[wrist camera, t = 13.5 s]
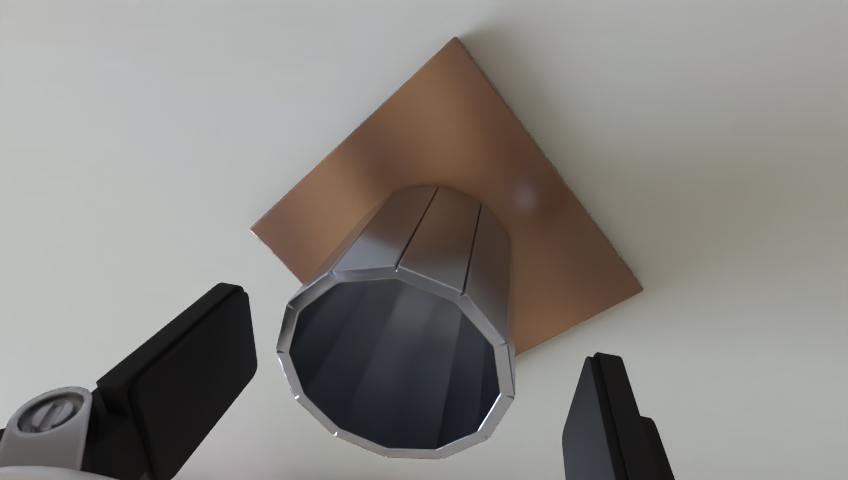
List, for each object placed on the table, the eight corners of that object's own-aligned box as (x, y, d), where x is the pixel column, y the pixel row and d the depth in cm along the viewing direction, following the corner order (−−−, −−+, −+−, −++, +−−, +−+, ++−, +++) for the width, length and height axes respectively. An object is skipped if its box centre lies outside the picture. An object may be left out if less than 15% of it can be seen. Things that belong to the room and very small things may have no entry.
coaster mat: (457, 36, 15) (454, 35, 14) (640, 283, 17) (644, 290, 17) (256, 224, 20) (248, 229, 19) (421, 396, 22) (419, 405, 21)
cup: (443, 150, 16) (398, 216, 10) (545, 277, 17) (564, 407, 11) (328, 243, 19) (234, 343, 12) (424, 347, 20) (384, 484, 14)
